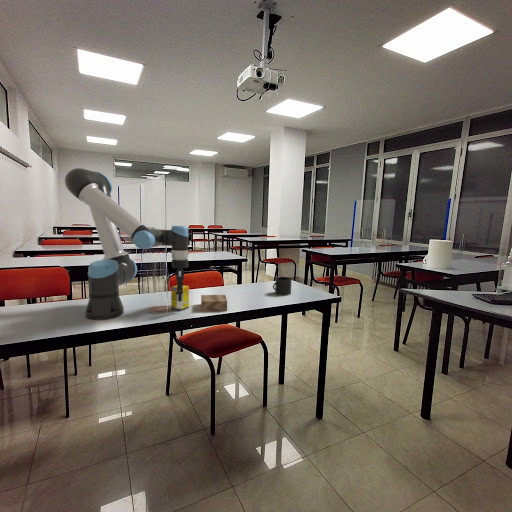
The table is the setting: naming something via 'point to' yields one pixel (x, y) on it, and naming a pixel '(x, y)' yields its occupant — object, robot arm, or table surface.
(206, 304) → the walnut block
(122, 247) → the robot arm
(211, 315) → the table surface
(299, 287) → the table surface
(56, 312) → the table surface
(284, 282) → the mug
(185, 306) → the supplement box
